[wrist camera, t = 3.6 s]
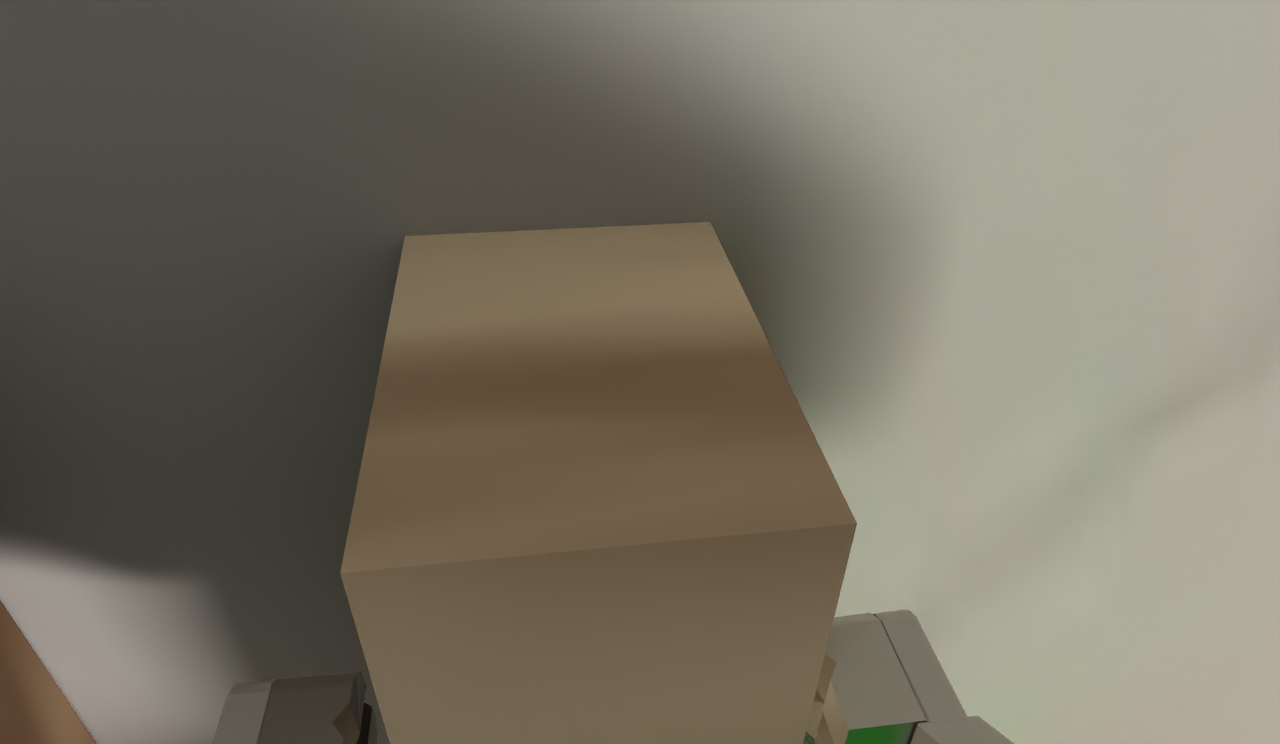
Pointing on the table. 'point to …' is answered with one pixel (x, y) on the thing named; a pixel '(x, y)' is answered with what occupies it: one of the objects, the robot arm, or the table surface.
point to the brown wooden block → (32, 696)
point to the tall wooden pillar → (589, 500)
